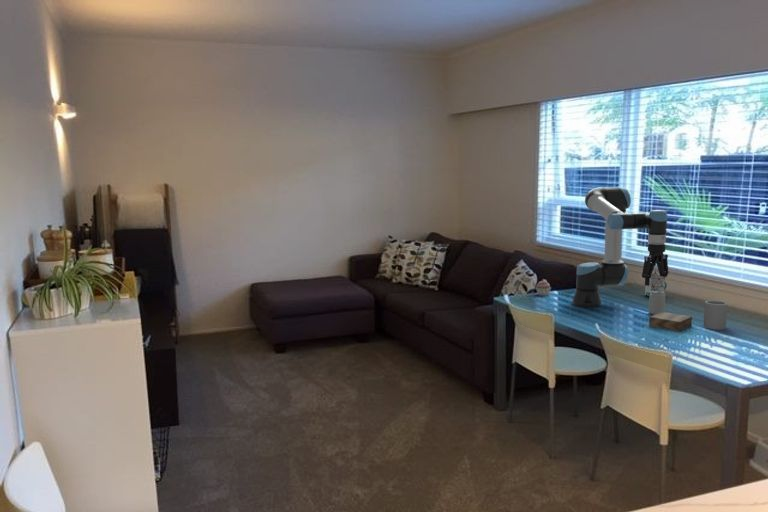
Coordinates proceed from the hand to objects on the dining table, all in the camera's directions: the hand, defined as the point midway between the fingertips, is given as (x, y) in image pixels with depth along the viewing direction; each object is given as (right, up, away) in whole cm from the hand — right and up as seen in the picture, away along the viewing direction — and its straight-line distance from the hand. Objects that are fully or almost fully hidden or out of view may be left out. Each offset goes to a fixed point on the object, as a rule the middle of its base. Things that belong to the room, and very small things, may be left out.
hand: (654, 291), depth 281 cm
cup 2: (+28, -17, 0) cm, 33 cm away
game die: (0, -1, 0) cm, 1 cm away
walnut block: (+9, -17, +4) cm, 20 cm away
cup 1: (+32, -7, +68) cm, 75 cm away
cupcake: (-32, -7, +75) cm, 82 cm away
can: (+13, -14, +27) cm, 33 cm away
